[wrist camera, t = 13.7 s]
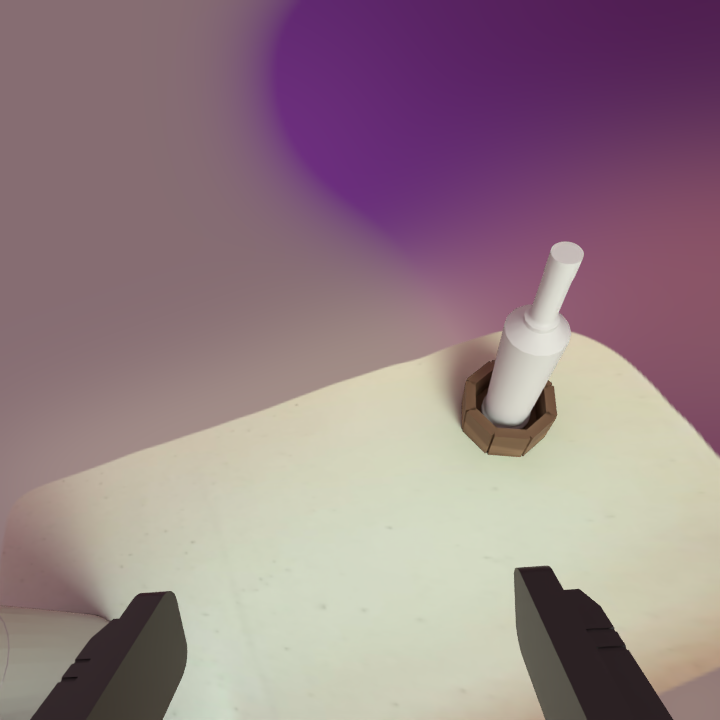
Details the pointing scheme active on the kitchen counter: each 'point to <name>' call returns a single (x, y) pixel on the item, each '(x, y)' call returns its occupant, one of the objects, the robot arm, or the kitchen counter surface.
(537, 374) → the bottle
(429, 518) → the kitchen counter surface
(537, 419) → the wooden cup
